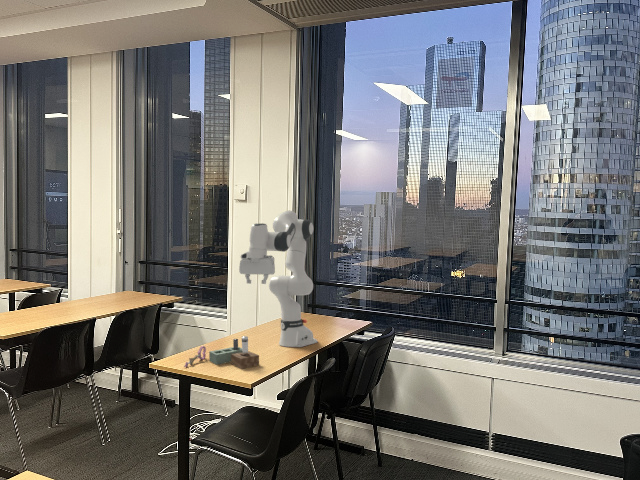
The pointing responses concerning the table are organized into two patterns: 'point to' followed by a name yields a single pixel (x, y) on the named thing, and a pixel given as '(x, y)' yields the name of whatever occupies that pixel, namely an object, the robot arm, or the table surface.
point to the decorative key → (197, 356)
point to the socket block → (245, 360)
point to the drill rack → (222, 355)
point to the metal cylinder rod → (244, 346)
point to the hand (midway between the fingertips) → (256, 283)
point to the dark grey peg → (235, 344)
